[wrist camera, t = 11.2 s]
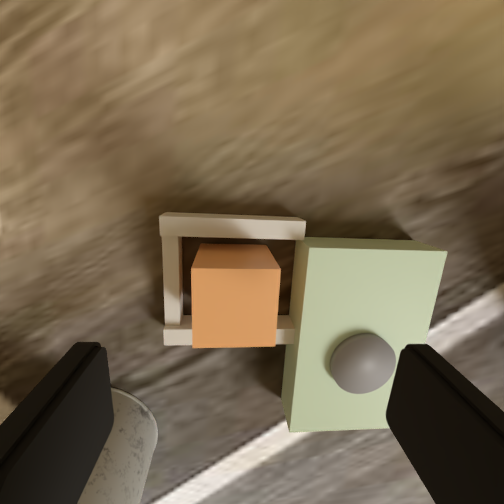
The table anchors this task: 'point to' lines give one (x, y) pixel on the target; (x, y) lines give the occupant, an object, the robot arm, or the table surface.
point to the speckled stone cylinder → (123, 454)
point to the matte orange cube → (234, 296)
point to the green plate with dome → (325, 313)
